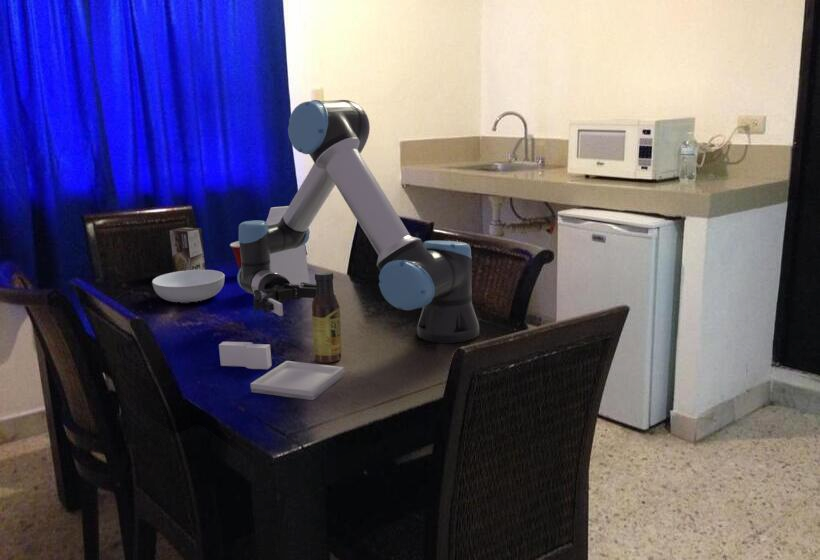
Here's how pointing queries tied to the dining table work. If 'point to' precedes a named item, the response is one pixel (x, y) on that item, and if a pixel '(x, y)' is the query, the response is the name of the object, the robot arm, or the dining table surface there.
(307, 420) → the dining table surface
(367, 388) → the dining table surface
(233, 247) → the plastic cup
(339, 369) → the tray
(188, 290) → the serving bowl
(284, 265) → the milk
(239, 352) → the white stepped block
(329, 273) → the sauce bottle
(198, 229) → the coffee box
